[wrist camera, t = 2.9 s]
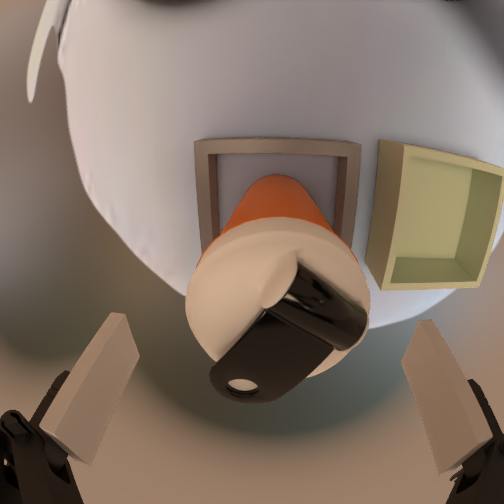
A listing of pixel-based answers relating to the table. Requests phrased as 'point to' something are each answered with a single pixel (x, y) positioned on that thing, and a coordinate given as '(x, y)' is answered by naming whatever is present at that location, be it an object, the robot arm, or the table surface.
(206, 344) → the shaker bottle
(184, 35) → the table surface
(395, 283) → the sage holder
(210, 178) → the collar
